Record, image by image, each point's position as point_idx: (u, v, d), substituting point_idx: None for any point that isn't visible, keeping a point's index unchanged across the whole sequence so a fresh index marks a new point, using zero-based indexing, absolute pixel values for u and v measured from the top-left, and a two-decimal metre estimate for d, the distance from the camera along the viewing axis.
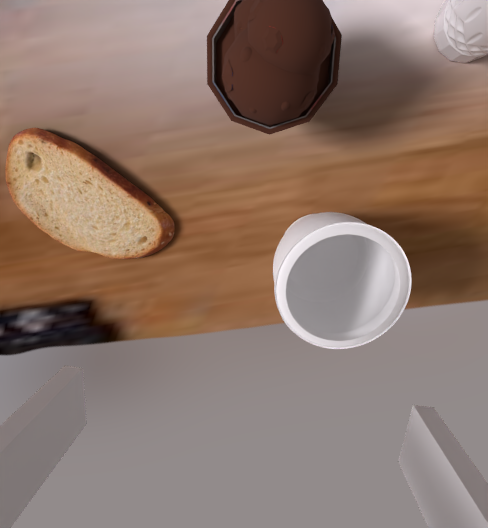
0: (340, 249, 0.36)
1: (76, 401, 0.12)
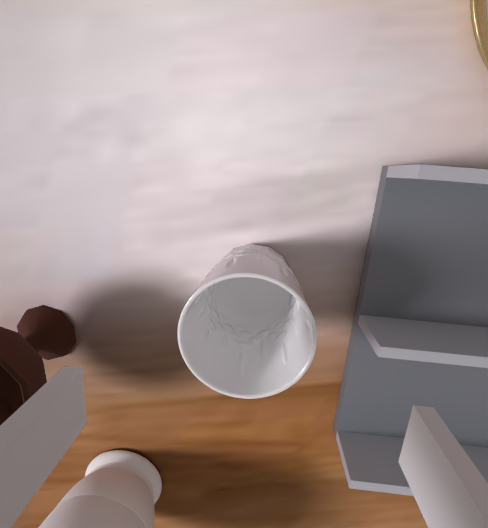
0: None
1: (76, 401, 0.12)
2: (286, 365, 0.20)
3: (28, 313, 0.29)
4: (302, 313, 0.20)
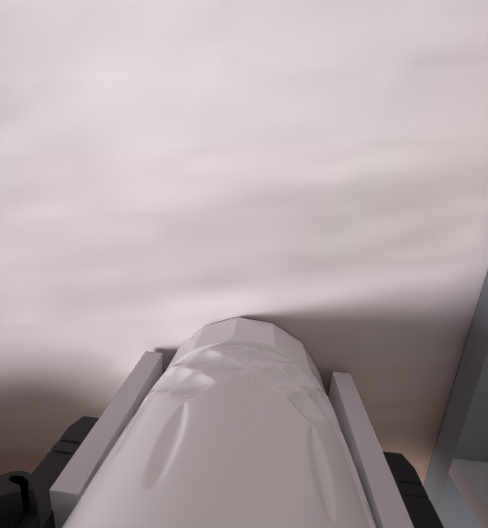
0: None
1: None
2: None
3: None
4: None
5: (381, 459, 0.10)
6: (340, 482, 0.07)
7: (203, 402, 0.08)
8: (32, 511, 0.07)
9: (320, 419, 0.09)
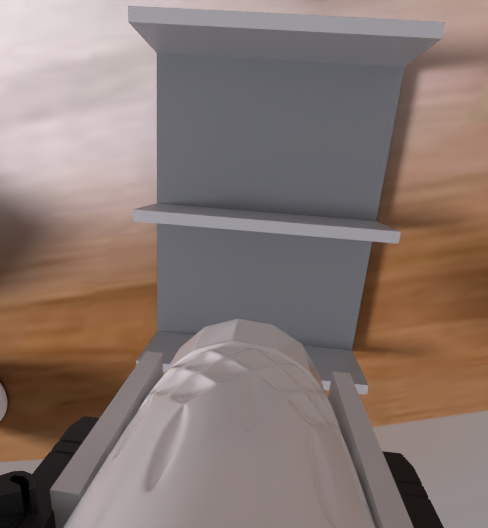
0: None
1: None
2: None
3: None
4: None
5: (381, 459, 0.10)
6: (340, 485, 0.07)
7: (203, 404, 0.08)
8: (32, 511, 0.07)
9: (320, 421, 0.09)
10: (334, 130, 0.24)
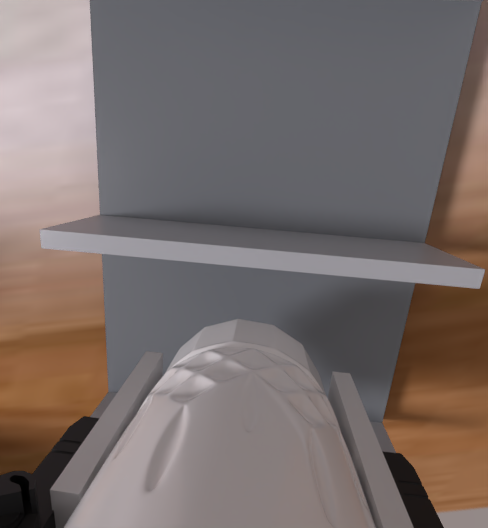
0: None
1: None
2: None
3: None
4: None
5: (381, 459, 0.10)
6: (340, 486, 0.07)
7: (203, 405, 0.08)
8: (32, 511, 0.07)
9: (320, 422, 0.09)
10: (365, 105, 0.16)
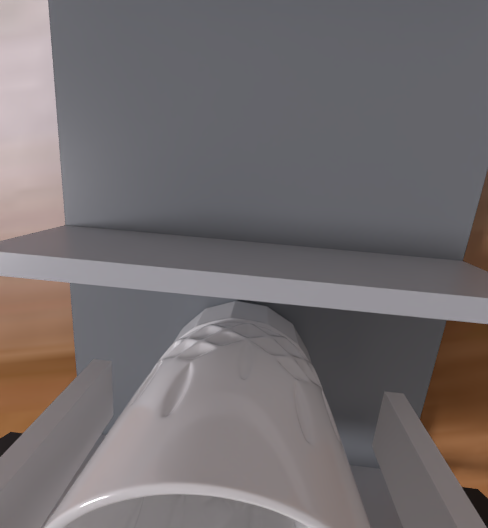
0: None
1: (105, 393, 0.13)
2: None
3: None
4: None
5: (464, 500, 0.08)
6: (318, 421, 0.08)
7: (206, 361, 0.09)
8: None
9: (304, 379, 0.10)
10: (393, 89, 0.12)
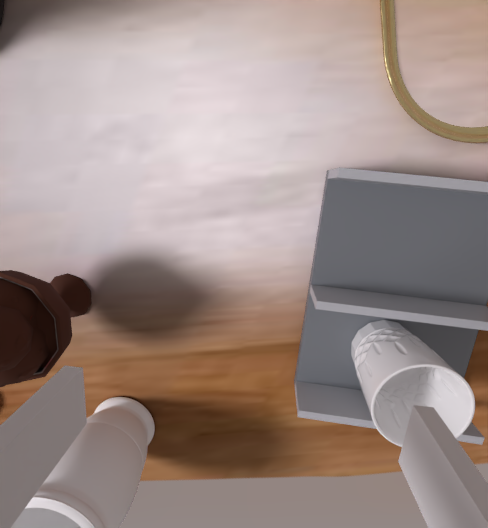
0: None
1: (76, 401, 0.12)
2: None
3: (56, 279, 0.37)
4: (449, 386, 0.28)
5: None
6: (443, 360, 0.27)
7: (401, 341, 0.29)
8: None
9: None
10: (459, 238, 0.32)
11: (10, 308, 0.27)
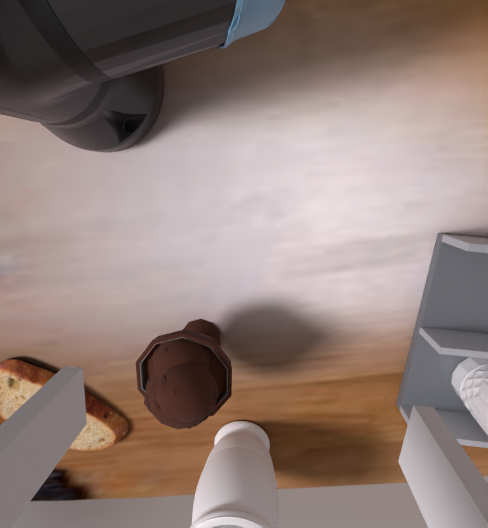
0: None
1: (76, 401, 0.12)
2: None
3: (191, 324, 0.43)
4: None
5: None
6: None
7: None
8: None
9: None
10: None
11: (200, 365, 0.33)
